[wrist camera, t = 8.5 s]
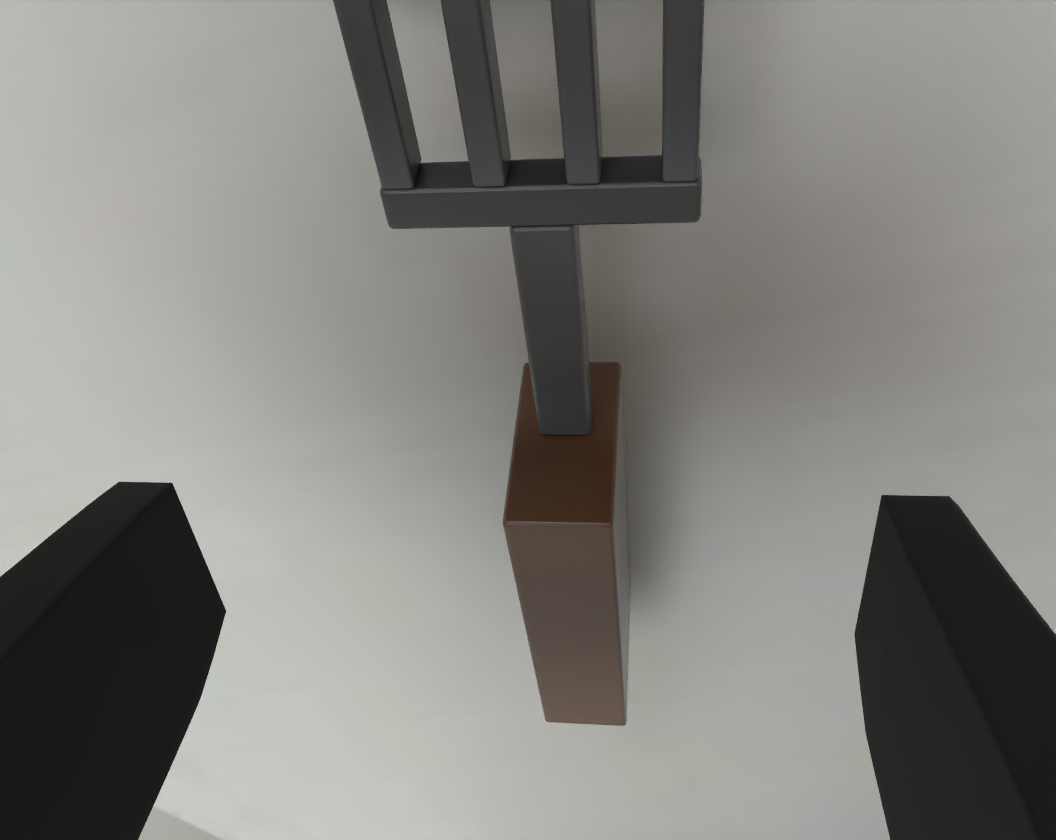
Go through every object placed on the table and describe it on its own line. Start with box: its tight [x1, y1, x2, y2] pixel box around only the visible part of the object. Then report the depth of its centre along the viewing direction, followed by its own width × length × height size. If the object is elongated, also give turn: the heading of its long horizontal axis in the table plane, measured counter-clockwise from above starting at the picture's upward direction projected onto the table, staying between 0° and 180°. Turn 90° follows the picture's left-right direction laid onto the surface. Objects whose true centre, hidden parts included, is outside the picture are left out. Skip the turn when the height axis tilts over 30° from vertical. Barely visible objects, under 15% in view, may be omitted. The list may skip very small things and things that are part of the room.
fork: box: [333, 0, 704, 726], centre depth 15 cm, size 14×4×3 cm, turn 4°
